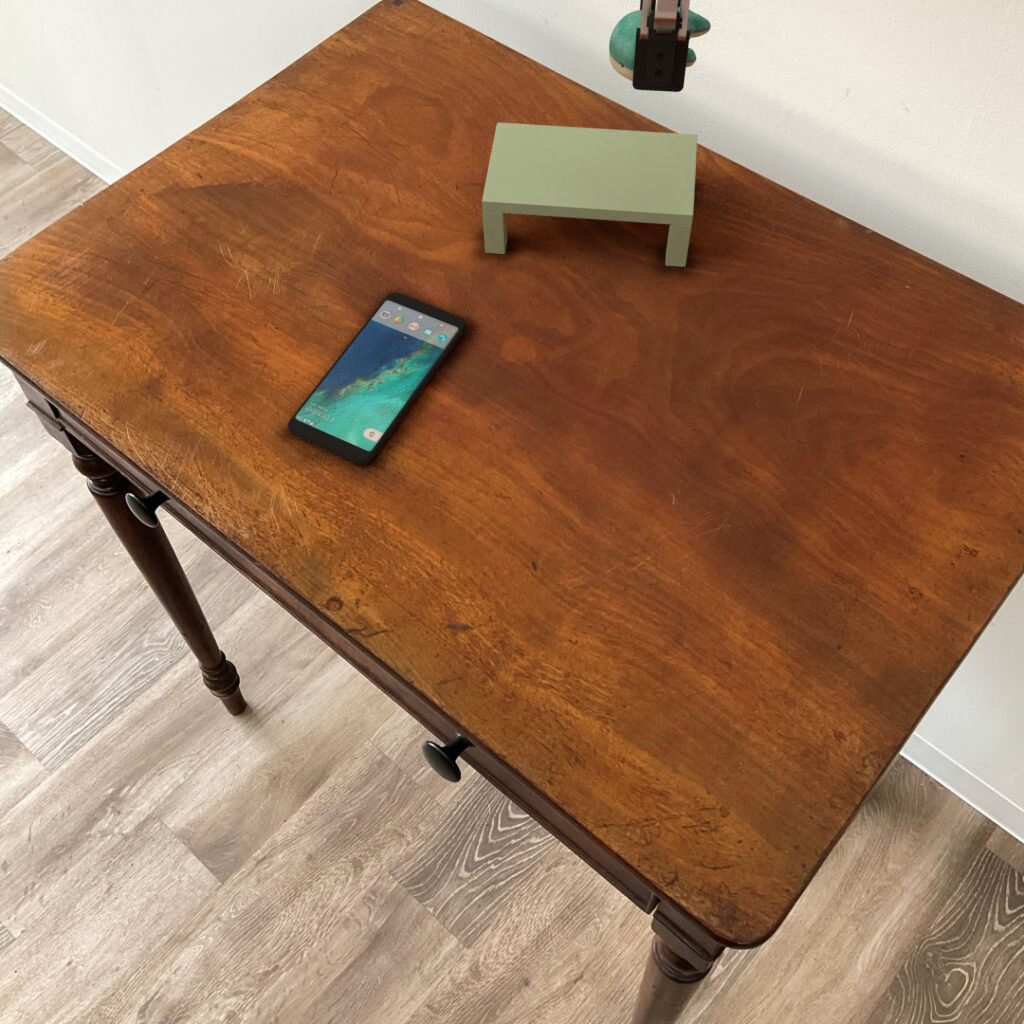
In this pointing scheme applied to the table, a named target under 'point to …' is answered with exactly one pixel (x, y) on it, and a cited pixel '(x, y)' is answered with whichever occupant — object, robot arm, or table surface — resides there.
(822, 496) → the table surface
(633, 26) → the whale figurine
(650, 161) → the miniature table
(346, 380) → the smartphone
